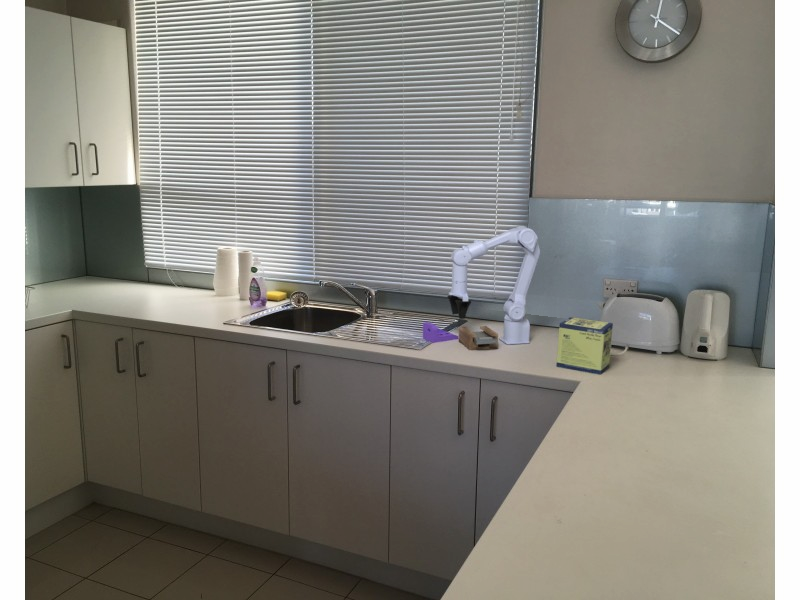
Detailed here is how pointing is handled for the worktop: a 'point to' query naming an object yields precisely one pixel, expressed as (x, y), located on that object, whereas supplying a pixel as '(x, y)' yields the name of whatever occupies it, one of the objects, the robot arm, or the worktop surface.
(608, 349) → the protein box
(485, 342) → the cover plate
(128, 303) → the worktop surface
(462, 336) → the sleeve box
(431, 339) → the bracket
